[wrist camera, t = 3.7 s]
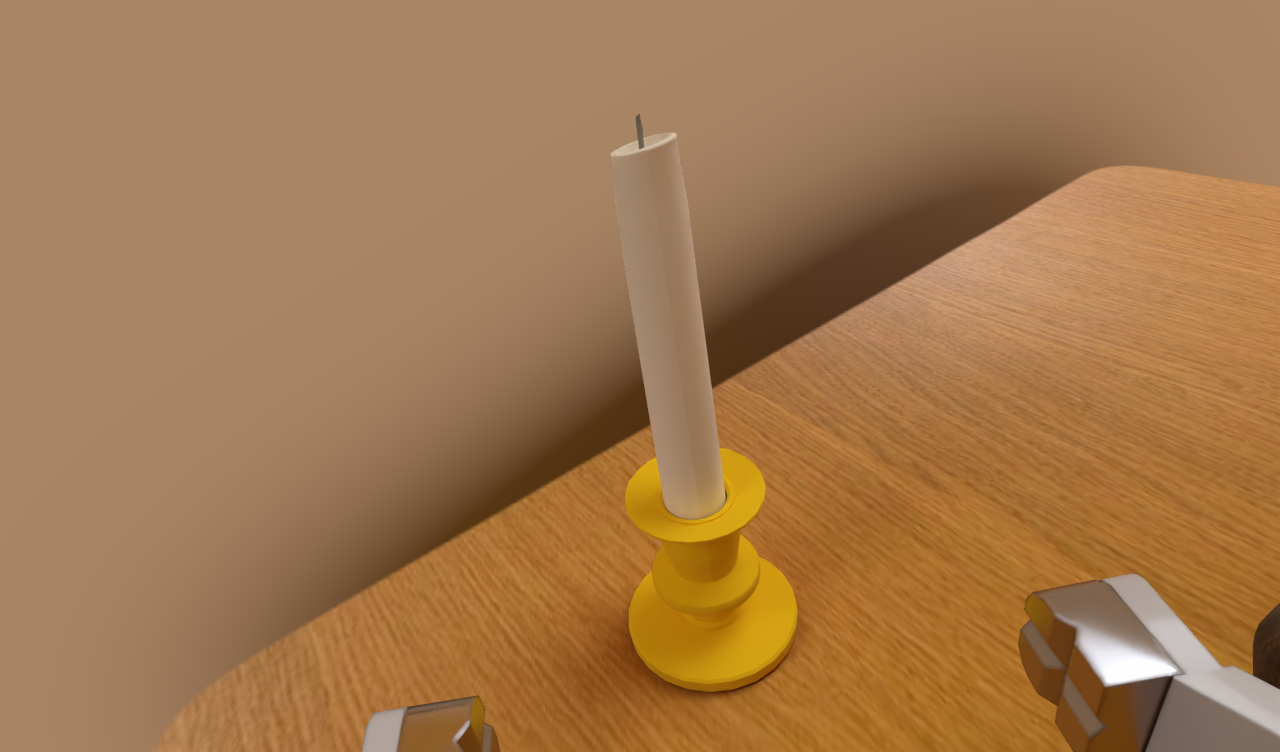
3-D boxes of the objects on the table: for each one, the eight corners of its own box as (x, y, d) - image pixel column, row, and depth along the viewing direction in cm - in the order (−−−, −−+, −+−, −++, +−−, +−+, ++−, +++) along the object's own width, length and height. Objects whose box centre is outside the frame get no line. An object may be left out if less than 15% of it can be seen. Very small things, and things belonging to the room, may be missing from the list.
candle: (597, 645, 24) (459, 148, 15) (688, 536, 27) (616, 78, 19) (744, 725, 21) (672, 167, 12) (827, 592, 24) (815, 79, 16)
